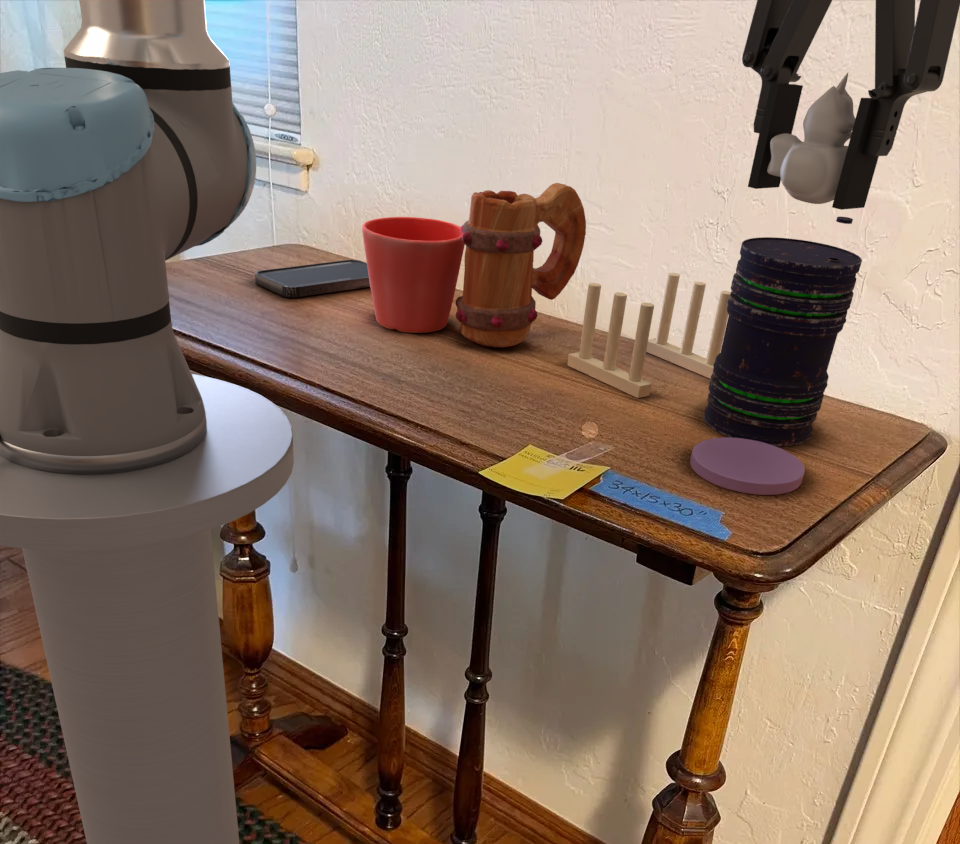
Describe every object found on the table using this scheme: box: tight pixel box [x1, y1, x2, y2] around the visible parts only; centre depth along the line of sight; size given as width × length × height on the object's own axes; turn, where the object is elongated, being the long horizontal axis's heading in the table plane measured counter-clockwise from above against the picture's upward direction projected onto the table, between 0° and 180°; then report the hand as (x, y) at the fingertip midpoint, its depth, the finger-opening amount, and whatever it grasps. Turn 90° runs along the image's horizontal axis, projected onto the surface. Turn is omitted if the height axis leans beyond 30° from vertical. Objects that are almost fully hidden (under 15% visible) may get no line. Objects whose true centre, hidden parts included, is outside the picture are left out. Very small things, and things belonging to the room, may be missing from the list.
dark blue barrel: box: [703, 216, 863, 447], centre depth 81 cm, size 10×10×18 cm
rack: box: [567, 272, 731, 399], centre depth 94 cm, size 13×10×8 cm
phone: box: [254, 259, 371, 298], centre depth 113 cm, size 8×1×15 cm
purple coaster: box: [689, 437, 806, 496], centre depth 78 cm, size 9×9×1 cm
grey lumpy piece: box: [767, 72, 856, 205], centre depth 65 cm, size 5×7×8 cm
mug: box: [455, 182, 587, 349], centre depth 98 cm, size 15×8×15 cm, turn 122°
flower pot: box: [361, 216, 466, 334], centre depth 101 cm, size 11×11×10 cm
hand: (804, 196), depth 67 cm, fingers closed on grey lumpy piece, 6 cm apart
